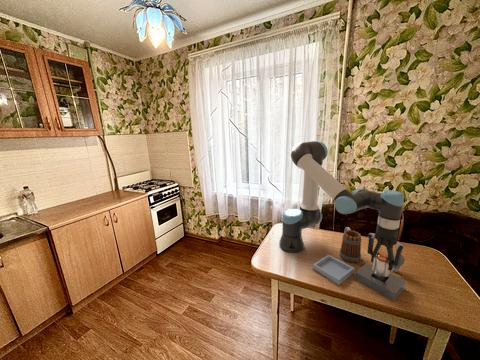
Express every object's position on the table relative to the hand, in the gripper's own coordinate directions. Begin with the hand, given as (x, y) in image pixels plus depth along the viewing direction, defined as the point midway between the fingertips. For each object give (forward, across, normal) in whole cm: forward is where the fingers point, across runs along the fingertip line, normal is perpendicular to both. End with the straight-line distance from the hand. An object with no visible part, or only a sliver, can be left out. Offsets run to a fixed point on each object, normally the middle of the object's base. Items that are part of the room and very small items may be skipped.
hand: (380, 271), depth 91 cm
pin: (+5, 0, 0) cm, 5 cm away
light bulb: (+7, +1, +16) cm, 17 cm away
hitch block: (+6, 0, 0) cm, 6 cm away
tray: (+6, -17, -9) cm, 21 cm away
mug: (+7, -20, +11) cm, 24 cm away
